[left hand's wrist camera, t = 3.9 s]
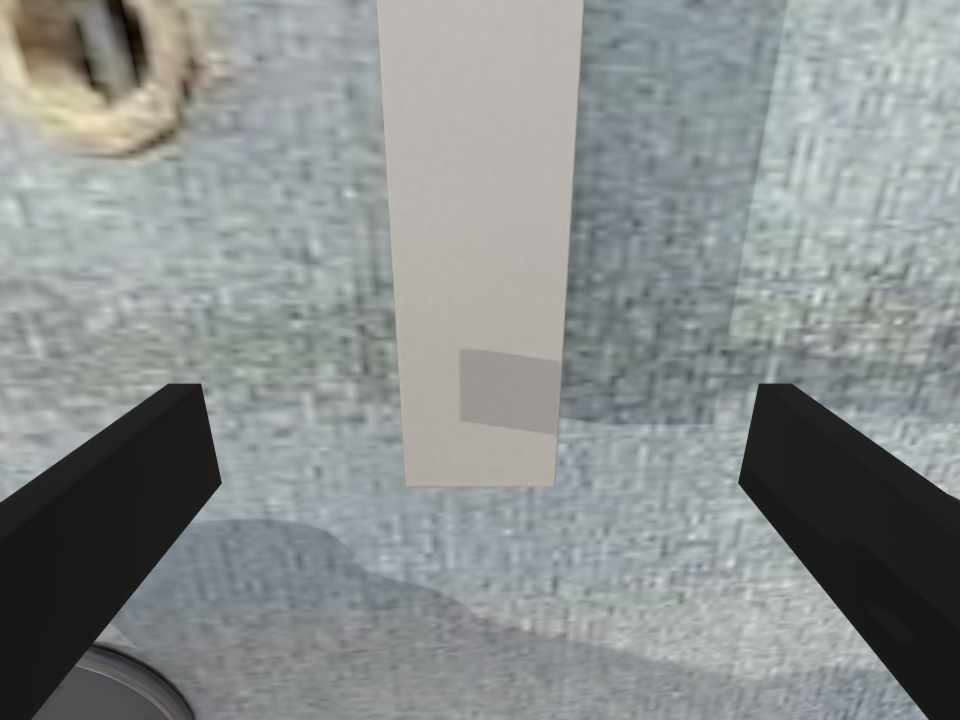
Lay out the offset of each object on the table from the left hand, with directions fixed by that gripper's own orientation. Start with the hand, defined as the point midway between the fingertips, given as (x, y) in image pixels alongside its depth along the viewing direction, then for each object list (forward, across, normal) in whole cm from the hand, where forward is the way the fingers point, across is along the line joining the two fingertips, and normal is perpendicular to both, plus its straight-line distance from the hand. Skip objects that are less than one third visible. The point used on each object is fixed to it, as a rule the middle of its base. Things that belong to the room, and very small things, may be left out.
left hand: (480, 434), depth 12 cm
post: (+13, 0, -23) cm, 27 cm away
